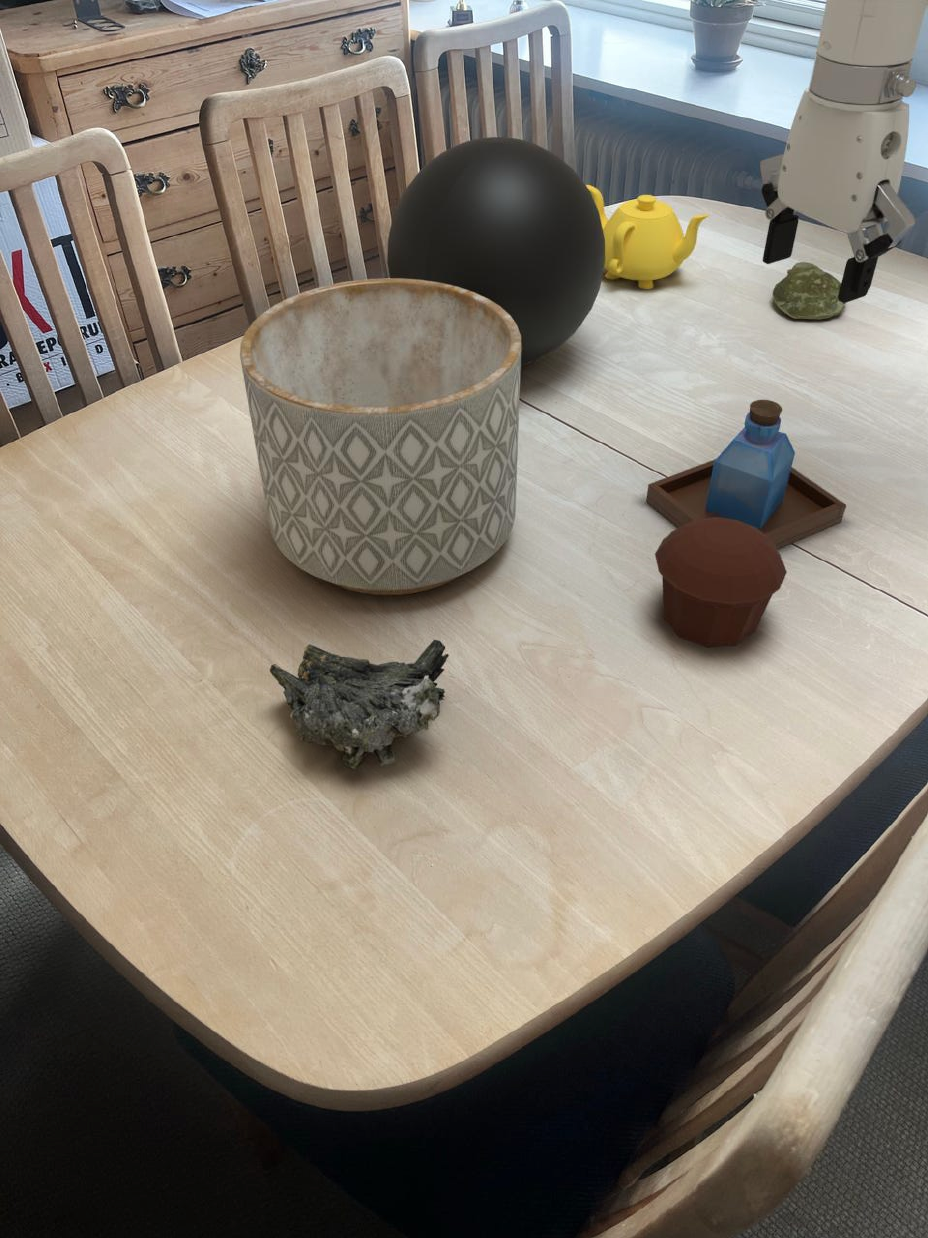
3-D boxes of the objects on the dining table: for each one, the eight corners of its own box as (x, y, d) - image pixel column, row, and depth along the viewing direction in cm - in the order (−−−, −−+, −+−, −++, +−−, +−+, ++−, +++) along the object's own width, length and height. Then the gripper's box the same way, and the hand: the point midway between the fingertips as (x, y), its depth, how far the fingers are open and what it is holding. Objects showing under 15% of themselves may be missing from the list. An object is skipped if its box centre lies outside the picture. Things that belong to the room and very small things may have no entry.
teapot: (552, 276, 152) (556, 199, 145) (603, 243, 161) (609, 169, 153) (671, 312, 144) (682, 232, 136) (717, 275, 152) (731, 198, 144)
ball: (603, 317, 143) (622, 111, 124) (586, 417, 123) (606, 191, 105) (416, 303, 146) (408, 101, 128) (372, 399, 127) (354, 177, 108)
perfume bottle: (782, 501, 109) (807, 403, 101) (759, 530, 106) (783, 431, 97) (729, 482, 112) (749, 385, 104) (705, 509, 108) (723, 412, 100)
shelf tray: (753, 460, 116) (757, 443, 115) (841, 522, 108) (846, 504, 106) (645, 501, 111) (648, 484, 109) (729, 570, 102) (732, 552, 100)
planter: (484, 451, 118) (485, 266, 103) (542, 592, 100) (555, 392, 85) (264, 479, 114) (232, 291, 99) (283, 631, 96) (248, 429, 81)
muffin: (772, 587, 100) (794, 505, 93) (771, 665, 92) (795, 582, 85) (651, 570, 102) (664, 489, 95) (640, 645, 94) (653, 562, 87)
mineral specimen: (450, 613, 90) (412, 583, 80) (478, 754, 86) (443, 739, 77) (297, 656, 93) (244, 632, 84) (318, 793, 89) (265, 784, 80)
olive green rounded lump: (794, 315, 139) (791, 243, 139) (763, 331, 146) (760, 263, 146) (856, 320, 142) (853, 249, 142) (823, 336, 149) (820, 269, 149)
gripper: (976, 97, 79) (913, 304, 91) (815, 48, 90) (777, 238, 102) (909, 115, 76) (853, 325, 88) (751, 61, 87) (720, 255, 99)
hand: (812, 278), depth 95 cm, fingers open, 9 cm apart
